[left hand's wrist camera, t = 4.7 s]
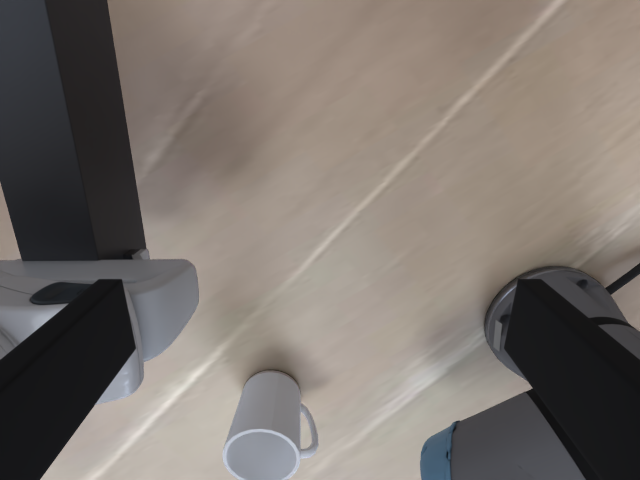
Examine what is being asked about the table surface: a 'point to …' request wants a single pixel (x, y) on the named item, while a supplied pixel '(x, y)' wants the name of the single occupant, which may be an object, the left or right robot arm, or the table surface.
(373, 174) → the table surface
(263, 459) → the mug
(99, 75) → the bar
